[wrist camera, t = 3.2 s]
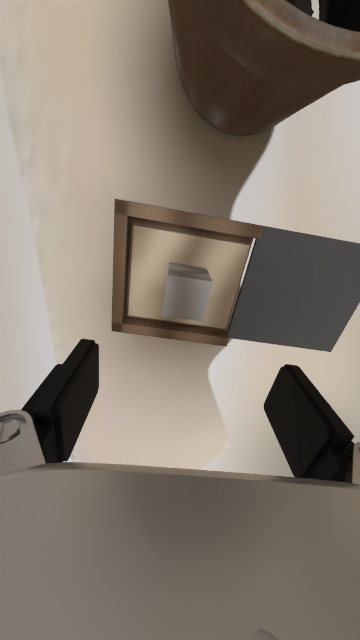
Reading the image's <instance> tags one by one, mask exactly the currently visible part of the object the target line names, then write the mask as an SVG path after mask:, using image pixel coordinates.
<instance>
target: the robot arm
mask: <svg viewBox="0 0 360 640" xmlns="http://www.w3.org/2000/svg"><path fill="white" fill-rule="evenodd" d="M98 388H99V345H98V344H96V343H95V341H94V340H88V339H81V340H80V342H79V343H78V344H77V346H76V347H75V348H74V350H73V351H72V352H71V354H70V355H69V356H68V358H67V359H66V360H65V362H64V363H63V364H58V365H56V366H55V367H54V368H53V370H52V371H51V372H50V373H49V375H48V376H47V377H46V379H45V380H44V381H43V382H42V384H41V385H40V386H39V388H38V389H37V390H36V391H35V393H34V394H33V395H32V397H31V398H30V399H29V400H28V402H27V403H26V404H25V406H24V407H23V408H22V410H11V411H6V412H3V413H0V640H360V442H358V443H356V444H354V443H353V442H352V441H351V440H352V439H353V438H354V435H353V434H352V433H351V431H350V430H349V429H348V428H347V426H346V425H345V424H344V423H343V421H342V420H341V419H340V418H339V417H338V415H337V414H336V413H335V411H334V410H333V409H332V408H331V406H330V405H329V404H328V403H327V401H326V400H325V399H324V398H323V396H322V395H321V394H320V393H319V391H318V390H317V389H316V388H315V386H314V385H313V384H312V383H311V381H310V380H309V379H308V378H307V376H306V375H305V374H304V372H303V371H302V370H301V369H300V367H298V366H295V365H288V364H286V365H284V367H281V368H280V370H279V373H278V375H277V377H276V379H275V381H274V383H273V385H272V388H271V390H270V392H269V394H268V396H267V398H266V401H265V403H264V410H265V413H266V415H267V417H268V419H269V422H270V424H271V426H272V428H273V430H274V433H275V435H276V437H277V439H278V442H279V444H280V446H281V449H282V451H283V453H284V455H285V457H286V460H287V462H288V464H289V466H290V468H291V471H292V473H293V475H294V477H283V476H271V475H259V474H245V473H233V472H220V471H207V470H194V469H180V468H166V467H152V466H137V465H123V464H103V463H84V462H63V461H67V460H68V459H69V457H70V455H71V453H72V450H73V448H74V446H75V443H76V441H77V439H78V436H79V434H80V432H81V429H82V427H83V425H84V422H85V420H86V418H87V416H88V413H89V411H90V409H91V406H92V404H93V402H94V399H95V397H96V395H97V392H98Z"/></svg>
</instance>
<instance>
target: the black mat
mask: <svg viewBox="0 0 360 640" xmlns="http://www.w3.org/2000/svg"><path fill="white" fill-rule="evenodd" d="M260 226H261V225H260ZM359 303H360V244H359V243H353V242H348V241H343V240H337V239H332V238H326V237H321V236H315V235H310V234H304V233H298V232H293V231H288V230H283V229H277V228H271V227H266V226H264V228H263V231H262V234H261V238H260V239H256V240H255V243H254V247H253V250H252V253H251V256H250V260H249V263H248V266H247V270H246V273H245V276H244V280H243V283H242V286H241V289H240V293H239V296H238V299H237V303H236V306H235V309H234V312H233V316H232V319H231V322H230V326H229V329H228V332H227V334H228V337H229V338H234V339H241V340H249V341H255V342H263V343H270V344H277V345H285V346H293V347H299V348H307V349H314V350H321V351H328V352H331V351H332V349H333V347H334V345H335V344H336V342H337V340H338V339H339V337H340V335H341V333H342V332H343V330H344V328H345V327H346V325H347V323H348V321H349V320H350V318H351V316H352V315H353V313H354V311H355V309H356V308H357V306H358V304H359Z"/></svg>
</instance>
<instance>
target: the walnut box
mask: <svg viewBox="0 0 360 640" xmlns="http://www.w3.org/2000/svg"><path fill="white" fill-rule="evenodd" d="M134 225H142V226H147V227H153V228H159V229H164V230H170V231H176V232H182V233H187V234H193V235H199V236H204V237H210V238H216V239H222V240H227V241H233V242H239V243H244V244H248V245H250V248H251V244H252V241H253V238H256V239H260V238H261V234H262V231H263V228H264V226H260V225H255V224H250V223H244V222H239V221H233V220H228V219H223V218H217V217H212V216H206V215H201V214H195V213H190V212H184V211H179V210H173V209H168V208H163V207H157V206H152V205H146V204H141V203H135V202H130V201H124V200H118V199H115V212H114V254H113V295H112V331H116V332H124V333H131V334H138V335H146V336H153V337H161V338H168V339H176V340H183V341H191V342H198V343H206V344H213V345H220V346H227V343H228V340H229V337H228V334H227V332H226V329H223V328H216V327H209V326H202V325H195V324H187V323H180V322H173V321H166V320H159V319H152V318H145V317H138V316H131V315H128V310H129V294H130V278H131V262H132V245H133V229H134ZM250 248H249V251H250ZM249 251H248V254H249ZM247 258H248V255H247ZM247 258H246V261H247ZM245 264H246V262H245ZM244 268H245V265H244ZM244 268H243V271H244ZM242 274H243V272H242ZM241 278H242V275H241ZM241 278H240V281H241ZM239 285H240V282H239ZM239 285H238V288H239ZM237 291H238V289H237ZM236 295H237V292H236ZM236 295H235V298H236ZM234 301H235V299H234ZM233 305H234V302H233ZM233 305H232V308H233ZM231 311H232V309H231ZM230 315H231V312H230ZM230 315H229V318H230ZM228 321H229V319H228ZM227 325H228V322H227ZM226 328H227V326H226Z"/></svg>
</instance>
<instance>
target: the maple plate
mask: <svg viewBox="0 0 360 640" xmlns="http://www.w3.org/2000/svg"><path fill="white" fill-rule="evenodd" d="M249 248H250V245H248V244H244V243H239V242H233V241H227V240H222V239H216V238H210V237H204V236H199V235H193V234H187V233H182V232H176V231H170V230H164V229H159V228H153V227H147V226H142V225H134V229H133V245H132V262H131V278H130V294H129V310H128V315H131V316H138V317H145V318H152V319H159V320H166V321H173V322H180V323H187V324H195V325H202V326H209V327H216V328H223V329H226V326H227V322H228V319H229V315H230V312H231V309H232V305H233V302H234V299H235V295H236V292H237V289H238V285H239V282H240V278H241V275H242V272H243V268H244V265H245V262H246V258H247V255H248V251H249Z"/></svg>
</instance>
